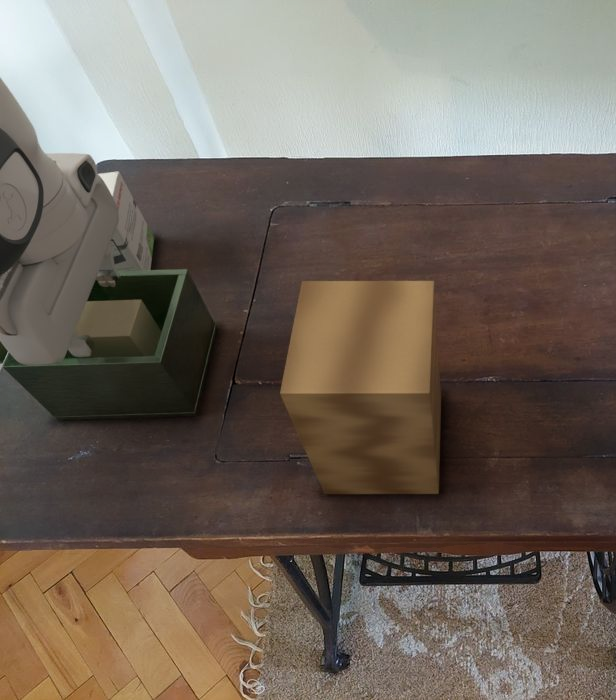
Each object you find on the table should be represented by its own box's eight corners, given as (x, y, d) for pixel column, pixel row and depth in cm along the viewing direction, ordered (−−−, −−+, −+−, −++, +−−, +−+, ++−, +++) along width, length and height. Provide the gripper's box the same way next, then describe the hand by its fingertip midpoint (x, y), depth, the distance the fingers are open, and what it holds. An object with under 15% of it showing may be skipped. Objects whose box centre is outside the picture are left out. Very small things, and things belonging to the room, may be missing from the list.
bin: (217, 328, 81) (187, 268, 72) (196, 416, 74) (160, 362, 65) (91, 331, 81) (45, 272, 72) (57, 420, 73) (1, 366, 64)
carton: (162, 382, 75) (129, 335, 68) (101, 384, 75) (61, 338, 68) (171, 347, 78) (141, 299, 71) (113, 349, 78) (76, 301, 71)
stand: (324, 494, 68) (279, 393, 52) (337, 396, 75) (301, 280, 59) (438, 494, 68) (429, 393, 52) (441, 396, 75) (434, 280, 59)
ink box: (119, 242, 90) (77, 173, 80) (156, 237, 90) (119, 168, 81) (111, 288, 85) (65, 221, 75) (150, 283, 85) (110, 215, 76)
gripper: (19, 306, 51) (100, 398, 62) (96, 144, 63) (152, 246, 74) (-62, 308, 51) (33, 400, 62) (30, 145, 63) (96, 247, 74)
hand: (98, 315), depth 68 cm, fingers open, 8 cm apart
